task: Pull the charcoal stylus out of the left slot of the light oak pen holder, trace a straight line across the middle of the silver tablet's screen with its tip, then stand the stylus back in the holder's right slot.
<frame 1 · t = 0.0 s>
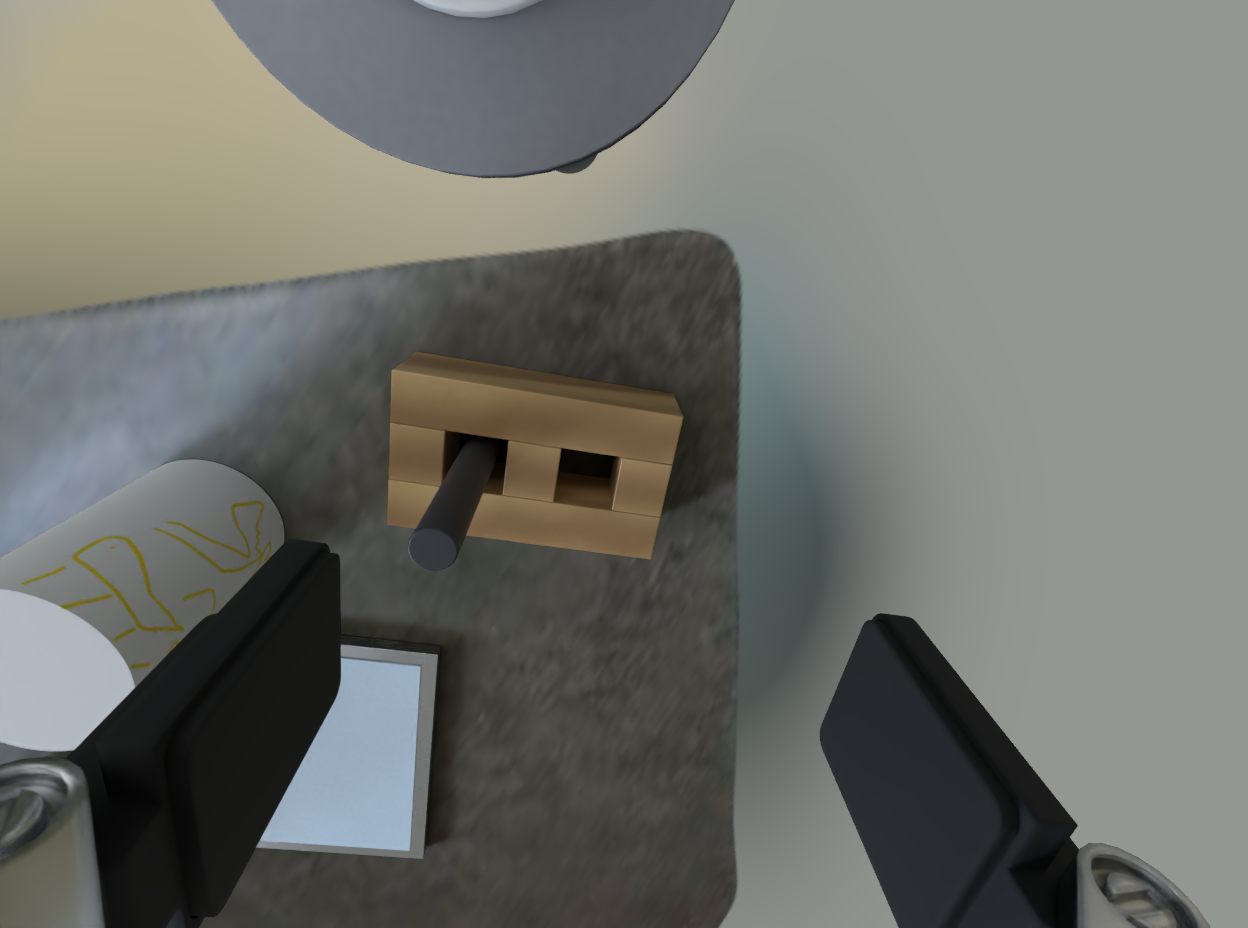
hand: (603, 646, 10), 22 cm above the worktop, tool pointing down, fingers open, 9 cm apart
stylus: (488, 435, 32), resting in holder
cup: (212, 522, 34), on the worktop
tablet: (324, 746, 41), on the worktop
holder: (538, 443, 32), on the worktop
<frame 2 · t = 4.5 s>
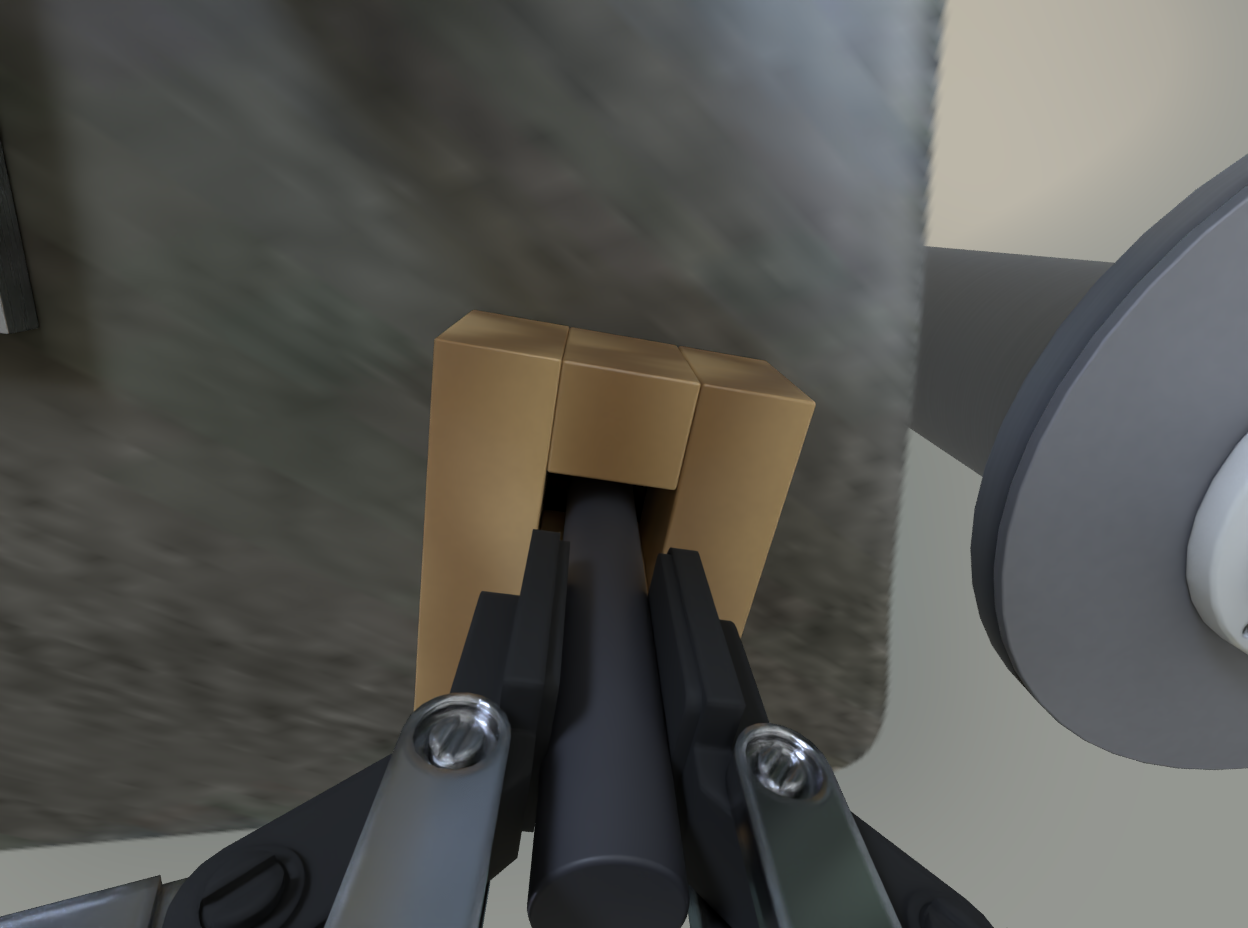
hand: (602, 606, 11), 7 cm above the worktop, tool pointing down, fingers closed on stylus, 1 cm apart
stylus: (599, 471, 17), resting in holder, touching gripper
holder: (585, 550, 18), on the worktop
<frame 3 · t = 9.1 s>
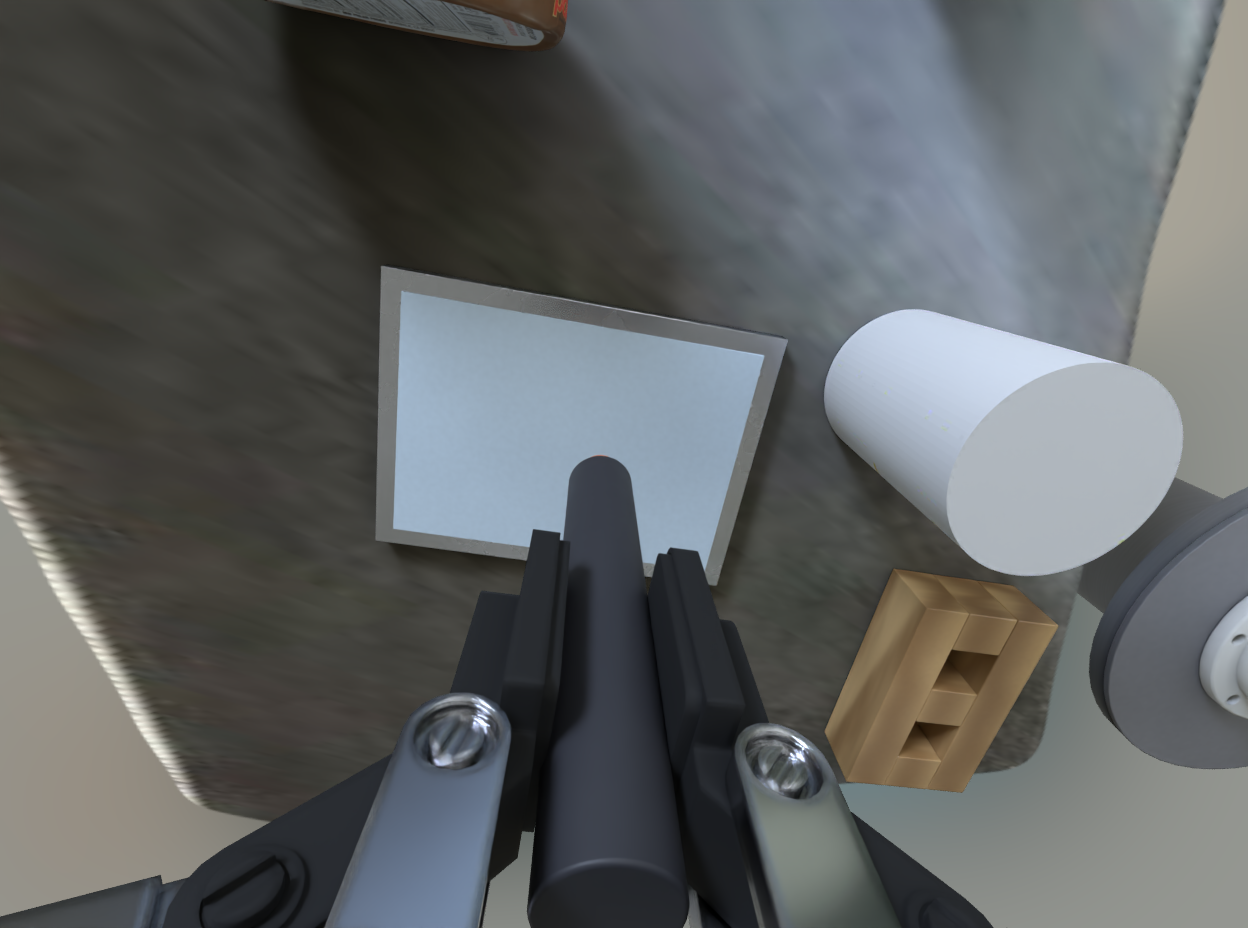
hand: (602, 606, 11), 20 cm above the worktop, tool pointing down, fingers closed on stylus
stylus: (599, 472, 17), point 14 cm above the worktop, touching gripper
tin: (395, 1, 24), on the worktop
cup: (897, 385, 31), on the worktop
tablet: (570, 440, 32), on the worktop
holder: (913, 662, 39), on the worktop
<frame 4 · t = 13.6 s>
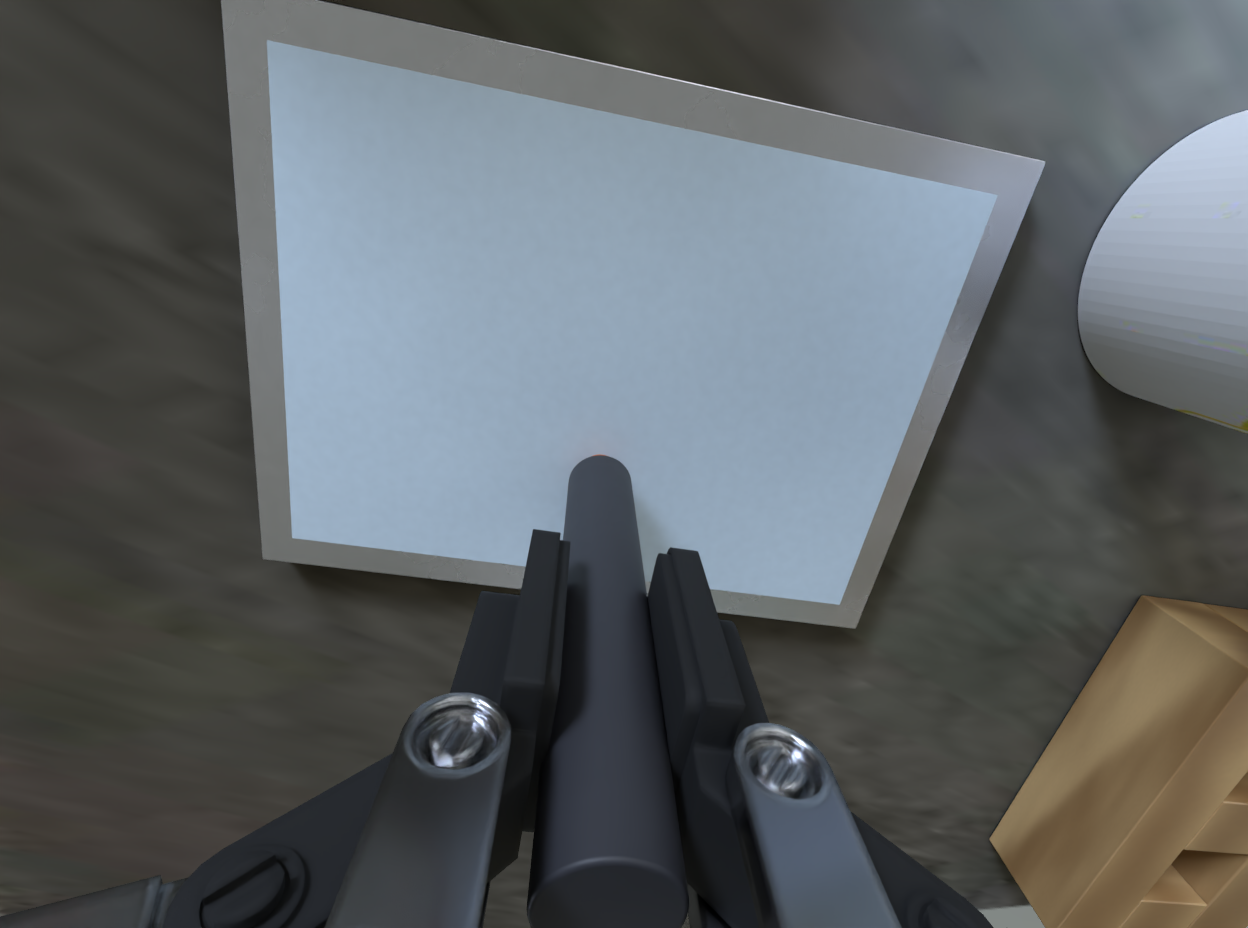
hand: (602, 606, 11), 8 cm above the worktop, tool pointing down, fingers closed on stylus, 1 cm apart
stylus: (599, 471, 17), point 1 cm above the worktop, touching gripper
cup: (1211, 267, 17), on the worktop
tablet: (612, 373, 17), on the worktop
holder: (1142, 738, 25), on the worktop
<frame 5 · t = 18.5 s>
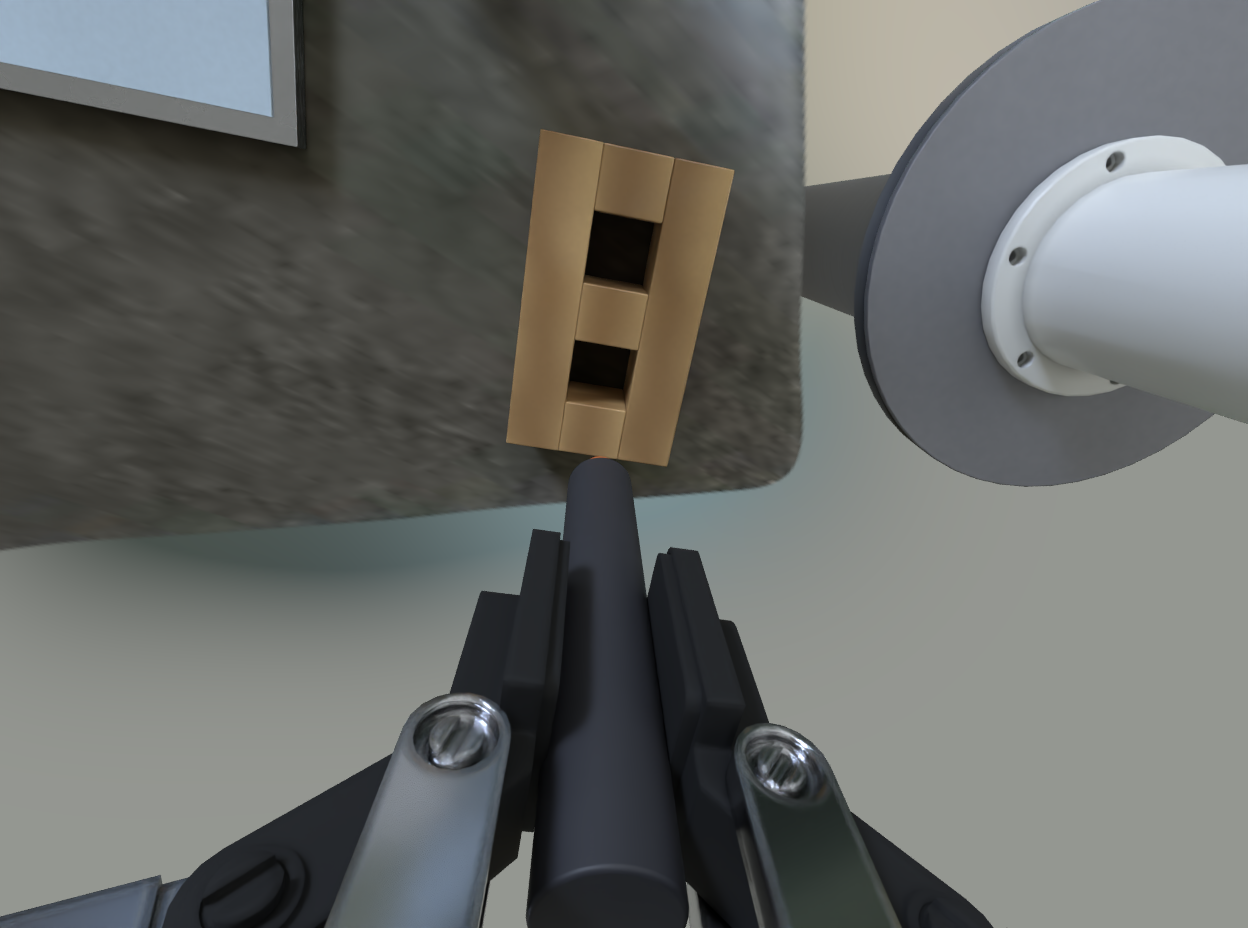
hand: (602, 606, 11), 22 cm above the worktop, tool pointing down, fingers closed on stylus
stylus: (599, 473, 17), point 15 cm above the worktop, touching gripper
holder: (609, 305, 30), on the worktop
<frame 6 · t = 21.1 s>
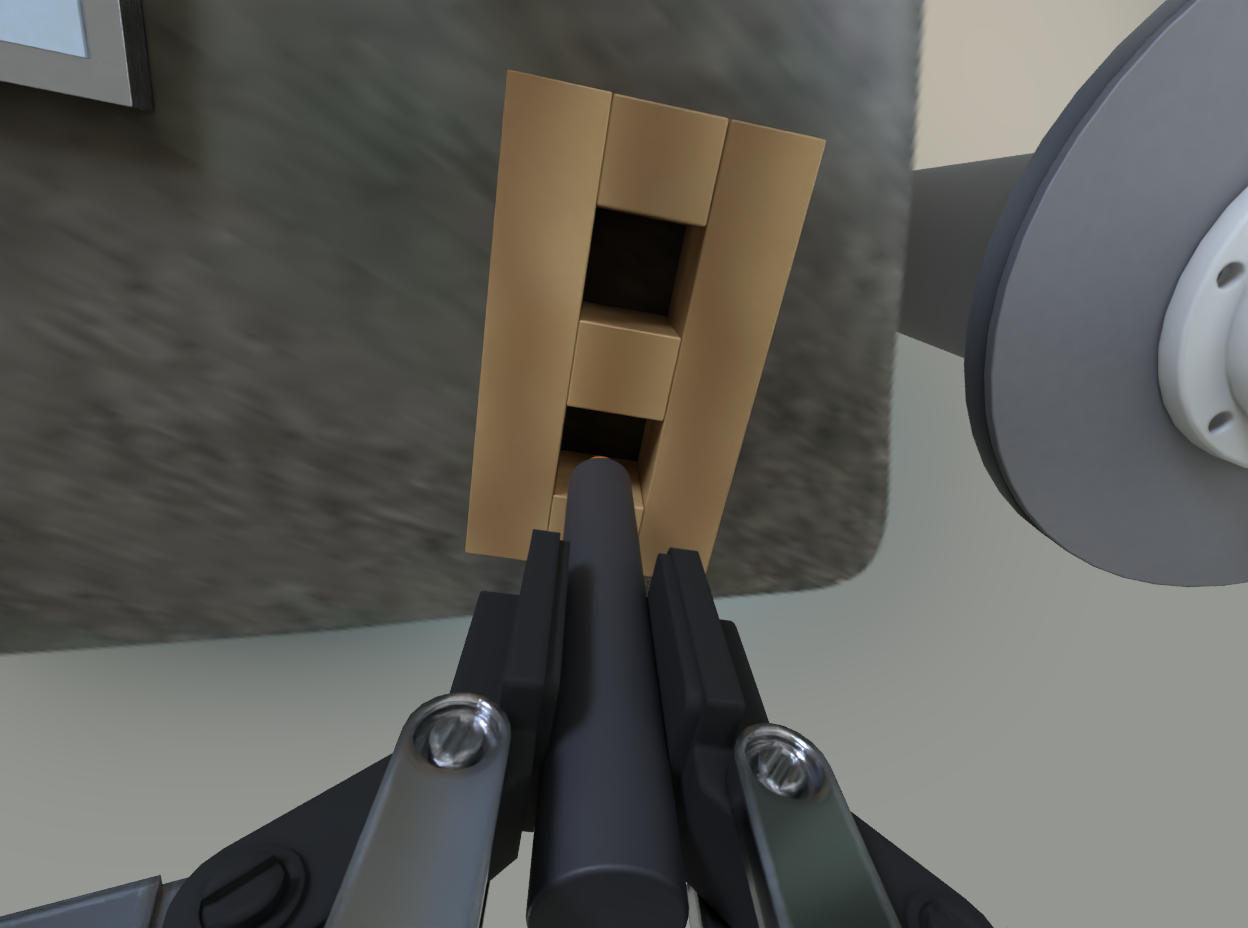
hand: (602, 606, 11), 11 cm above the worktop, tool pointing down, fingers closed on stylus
stylus: (599, 474, 17), point 5 cm above the worktop, touching gripper
holder: (618, 345, 21), on the worktop
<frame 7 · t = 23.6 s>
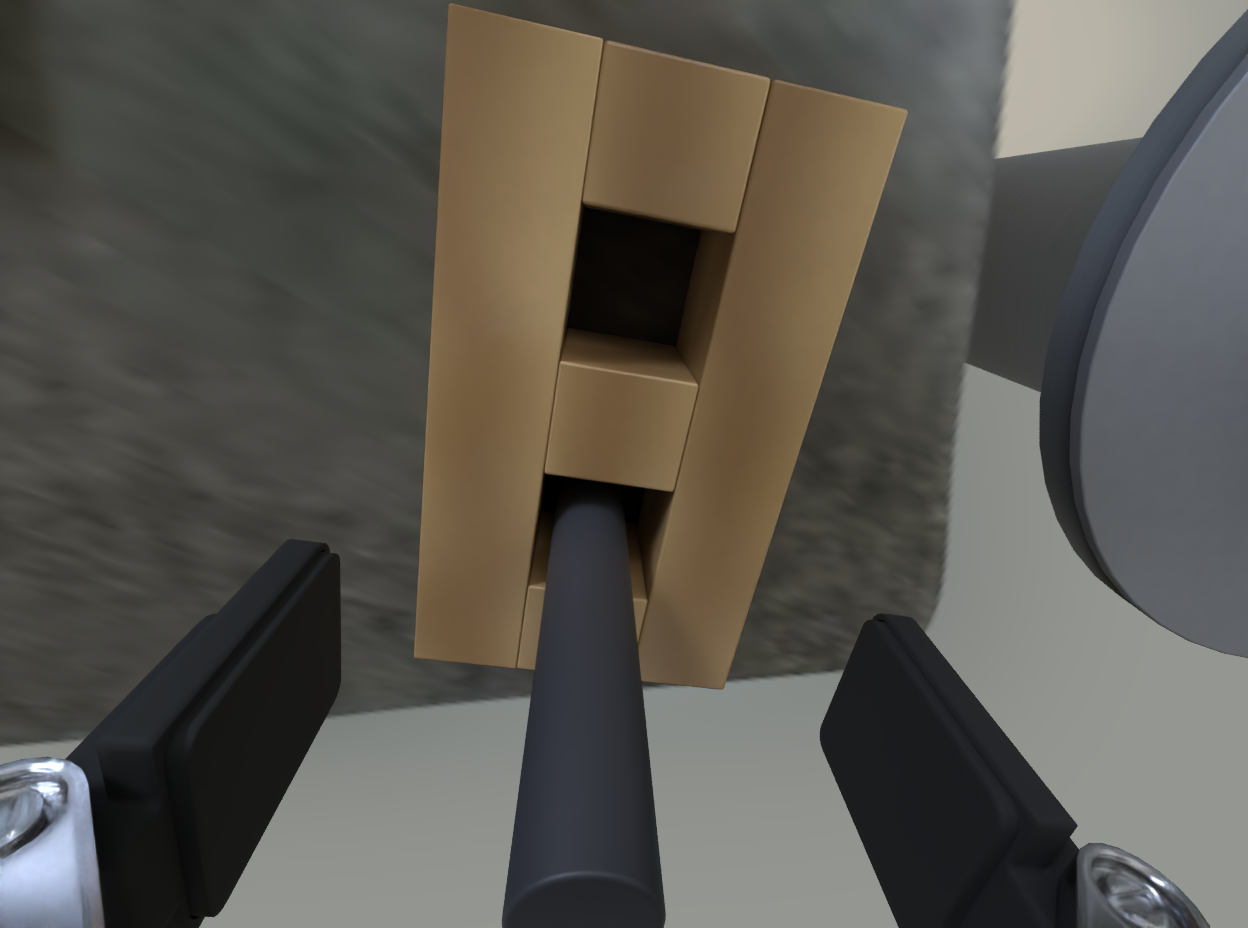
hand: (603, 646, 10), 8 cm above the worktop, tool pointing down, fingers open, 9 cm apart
stylus: (590, 476, 17), resting in holder
holder: (613, 382, 16), on the worktop
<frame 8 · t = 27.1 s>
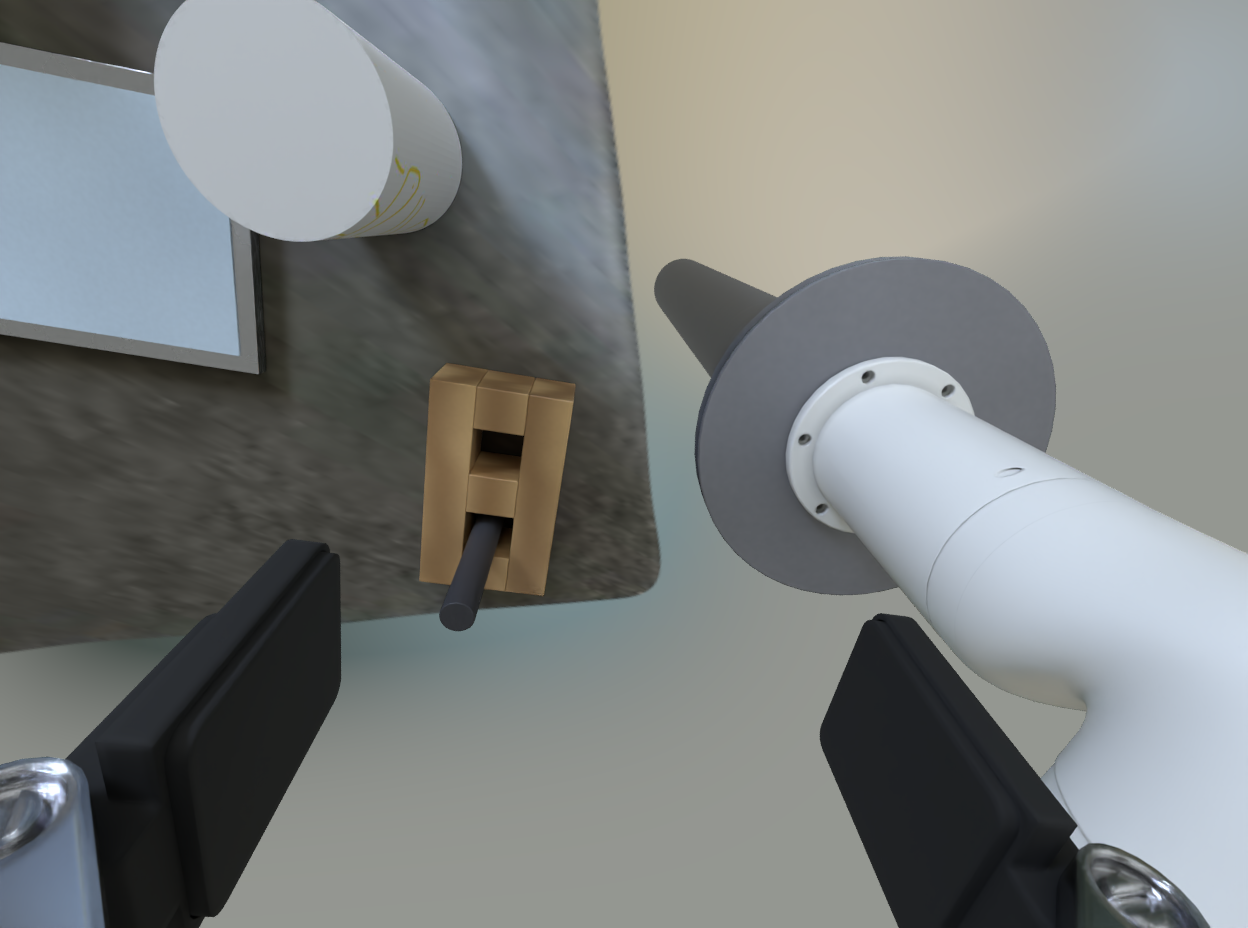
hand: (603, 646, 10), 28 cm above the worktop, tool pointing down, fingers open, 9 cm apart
stylus: (494, 508, 41), resting in holder
cup: (388, 154, 32), on the worktop
tablet: (69, 210, 32), on the worktop
holder: (501, 471, 39), on the worktop
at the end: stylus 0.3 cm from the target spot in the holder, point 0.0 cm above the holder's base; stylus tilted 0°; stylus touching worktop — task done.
